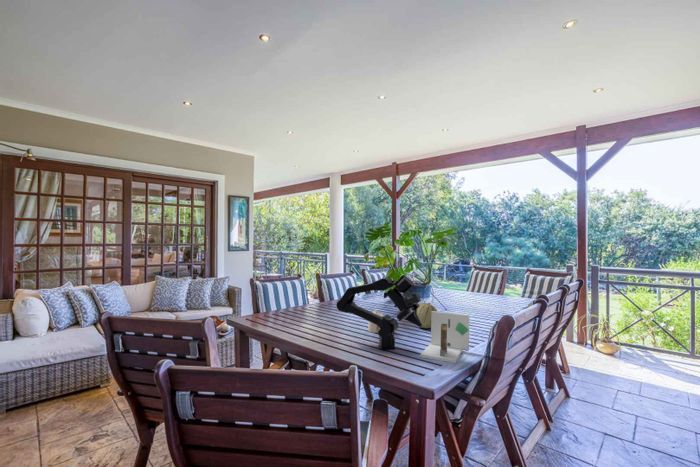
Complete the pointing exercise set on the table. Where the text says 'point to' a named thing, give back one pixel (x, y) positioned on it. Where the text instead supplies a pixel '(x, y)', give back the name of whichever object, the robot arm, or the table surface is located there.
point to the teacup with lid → (372, 326)
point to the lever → (444, 337)
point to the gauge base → (448, 336)
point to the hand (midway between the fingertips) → (421, 325)
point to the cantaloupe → (425, 314)
